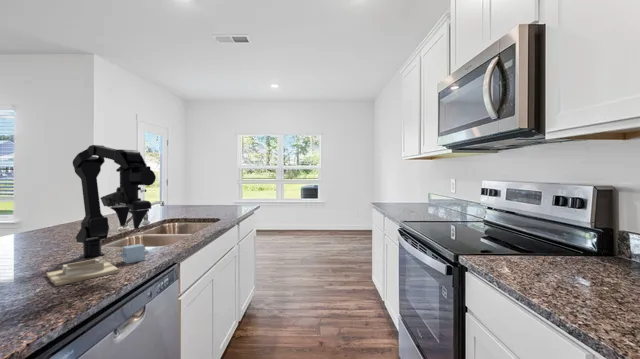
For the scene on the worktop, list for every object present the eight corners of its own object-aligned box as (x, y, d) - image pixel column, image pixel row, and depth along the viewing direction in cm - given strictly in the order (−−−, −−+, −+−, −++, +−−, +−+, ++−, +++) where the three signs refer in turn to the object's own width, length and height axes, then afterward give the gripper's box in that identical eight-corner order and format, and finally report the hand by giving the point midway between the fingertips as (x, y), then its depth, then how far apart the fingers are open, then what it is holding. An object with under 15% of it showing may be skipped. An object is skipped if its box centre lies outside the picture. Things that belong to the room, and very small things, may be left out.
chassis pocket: (46, 275, 97) (46, 265, 96) (105, 263, 109) (105, 254, 109) (55, 286, 88) (55, 274, 87) (119, 272, 100) (119, 262, 100)
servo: (118, 262, 111) (117, 247, 111) (144, 257, 118) (144, 243, 118) (121, 264, 108) (121, 249, 108) (149, 259, 115) (148, 244, 115)
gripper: (91, 184, 108) (91, 227, 108) (118, 186, 98) (118, 234, 99) (124, 183, 117) (124, 223, 118) (152, 185, 108) (152, 229, 108)
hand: (129, 227), depth 110 cm, fingers open, 9 cm apart
